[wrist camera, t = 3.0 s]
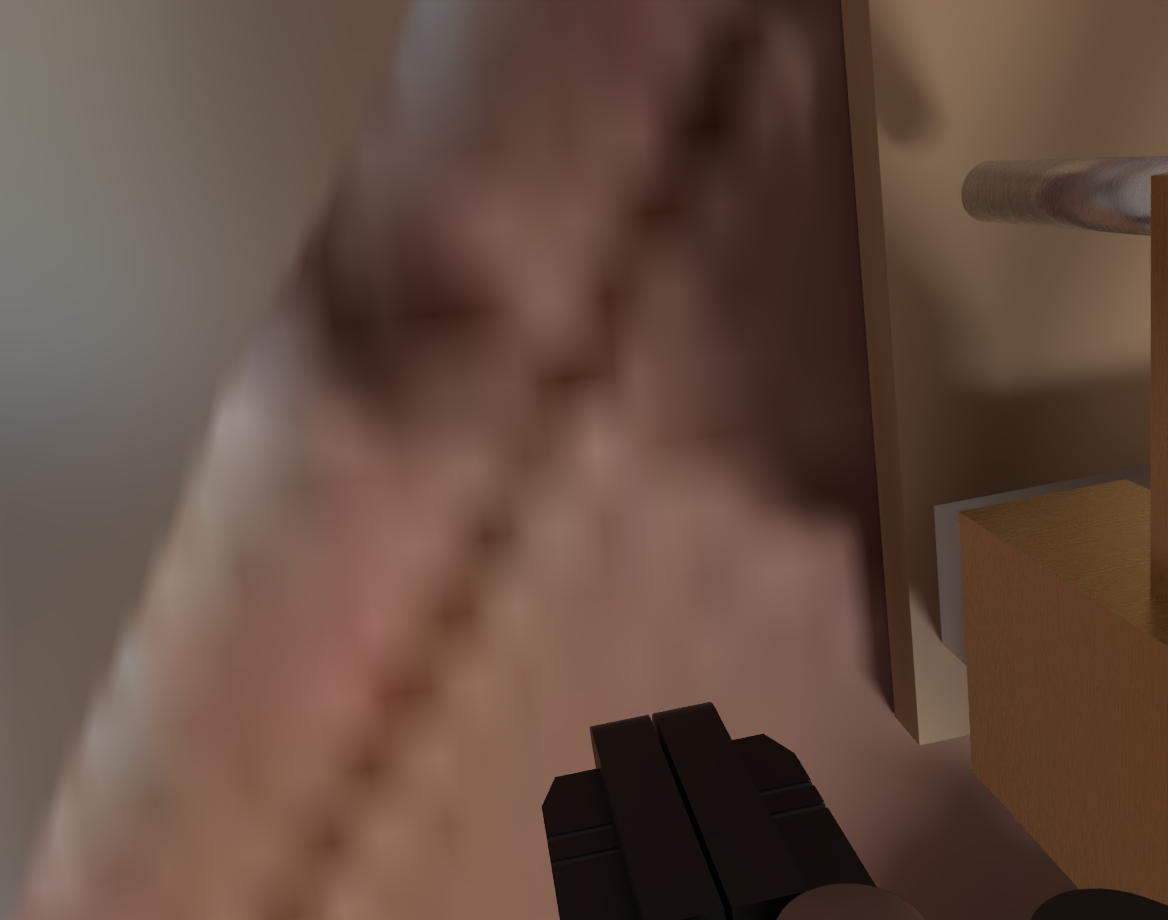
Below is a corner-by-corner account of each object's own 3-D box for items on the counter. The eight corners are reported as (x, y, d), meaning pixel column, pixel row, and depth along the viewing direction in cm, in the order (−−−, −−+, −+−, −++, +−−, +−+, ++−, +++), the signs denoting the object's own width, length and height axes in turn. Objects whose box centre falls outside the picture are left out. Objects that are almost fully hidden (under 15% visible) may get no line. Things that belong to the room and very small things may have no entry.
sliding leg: (1073, 146, 14) (1520, 127, 8) (1083, 700, 16) (1439, 990, 11) (902, 175, 14) (1239, 174, 8) (937, 732, 16) (1217, 1044, 10)
